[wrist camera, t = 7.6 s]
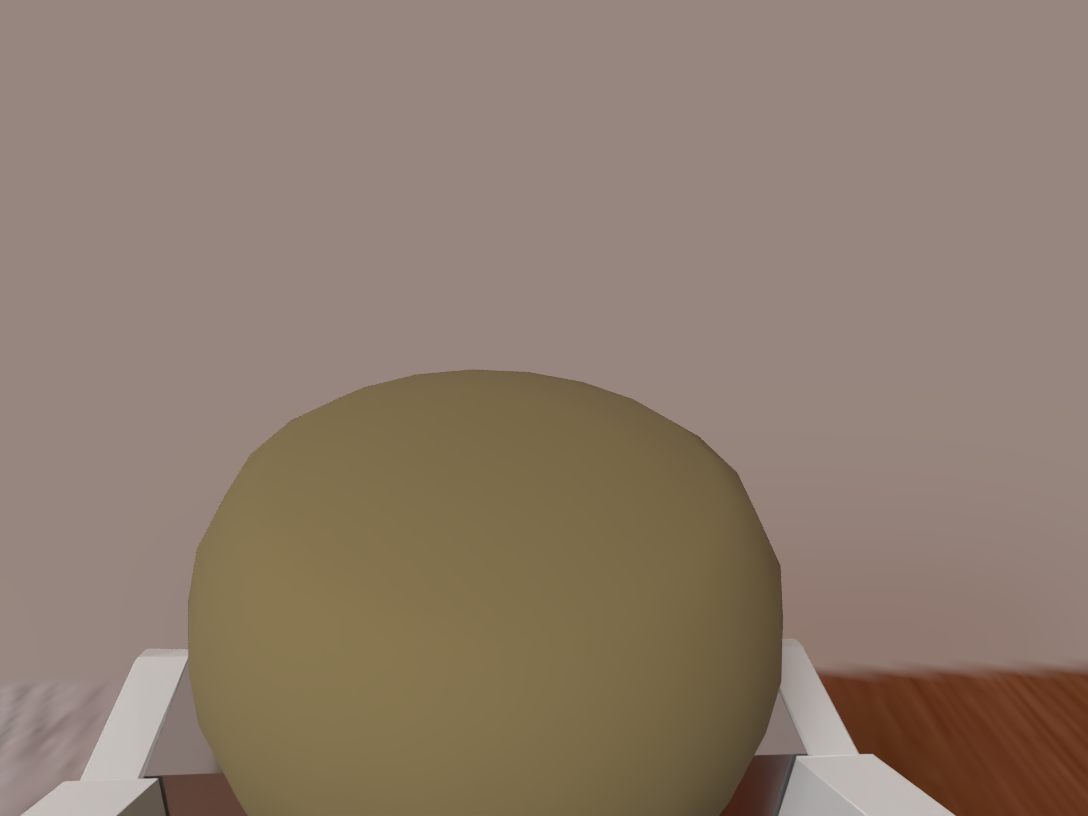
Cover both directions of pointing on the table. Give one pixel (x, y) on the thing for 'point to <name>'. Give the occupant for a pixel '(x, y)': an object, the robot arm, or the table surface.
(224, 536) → the olive pawn
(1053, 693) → the table surface
